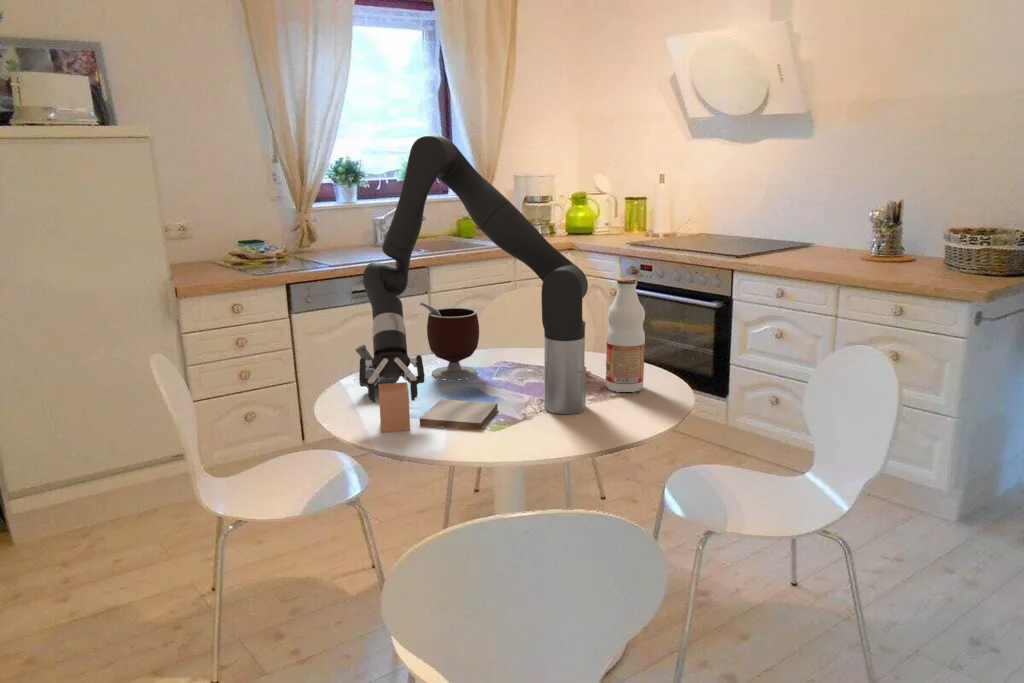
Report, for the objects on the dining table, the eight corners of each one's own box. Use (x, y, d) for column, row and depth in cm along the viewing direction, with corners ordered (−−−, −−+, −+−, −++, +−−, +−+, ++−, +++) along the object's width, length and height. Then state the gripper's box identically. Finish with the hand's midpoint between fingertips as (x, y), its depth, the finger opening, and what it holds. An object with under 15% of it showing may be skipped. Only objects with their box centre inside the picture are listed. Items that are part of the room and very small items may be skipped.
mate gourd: (479, 366, 217) (478, 296, 212) (480, 380, 203) (478, 306, 198) (424, 368, 216) (421, 297, 211) (421, 382, 202) (418, 307, 198)
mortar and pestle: (405, 385, 200) (403, 340, 197) (399, 396, 191) (397, 349, 188) (361, 385, 200) (359, 340, 197) (354, 396, 191) (351, 349, 188)
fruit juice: (625, 396, 189) (628, 283, 182) (597, 387, 196) (599, 278, 189) (651, 388, 195) (654, 278, 188) (623, 380, 202) (625, 274, 195)
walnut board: (497, 409, 180) (497, 403, 180) (480, 429, 167) (480, 423, 167) (440, 405, 184) (440, 399, 183) (419, 425, 170) (419, 418, 170)
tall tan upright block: (408, 420, 173) (406, 382, 171) (410, 430, 167) (408, 390, 165) (380, 422, 172) (378, 384, 170) (381, 432, 166) (379, 392, 164)
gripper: (356, 330, 172) (359, 394, 164) (421, 326, 175) (426, 390, 167) (358, 347, 179) (361, 410, 170) (420, 344, 181) (425, 405, 173)
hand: (393, 400), depth 169 cm, fingers open, 8 cm apart
